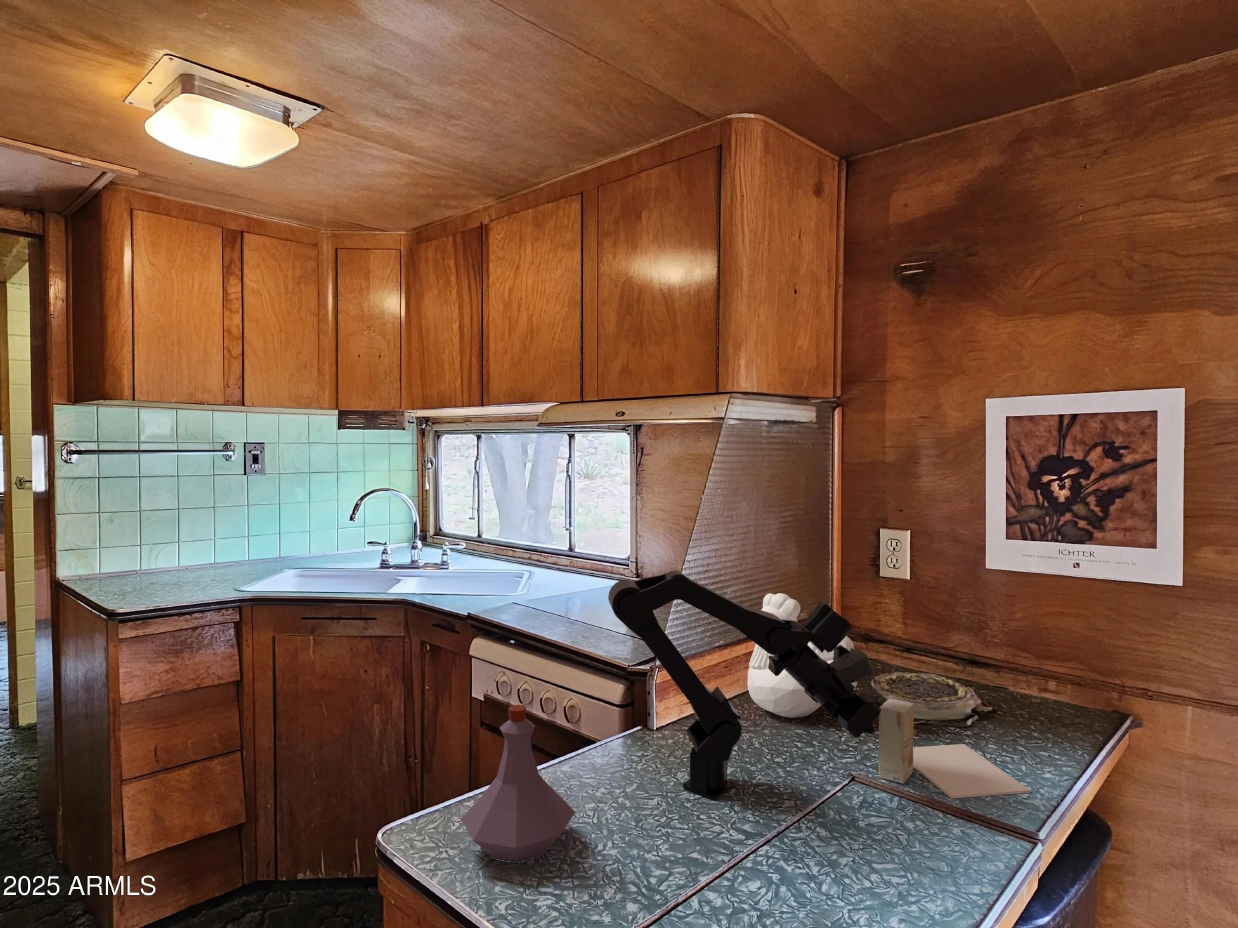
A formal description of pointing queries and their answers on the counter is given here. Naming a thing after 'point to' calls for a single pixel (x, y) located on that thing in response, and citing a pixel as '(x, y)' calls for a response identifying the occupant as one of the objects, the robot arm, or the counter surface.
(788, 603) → the decorative rooster
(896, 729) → the skincare box
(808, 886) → the counter surface
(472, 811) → the flask
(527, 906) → the counter surface
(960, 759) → the cutting board
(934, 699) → the pie
